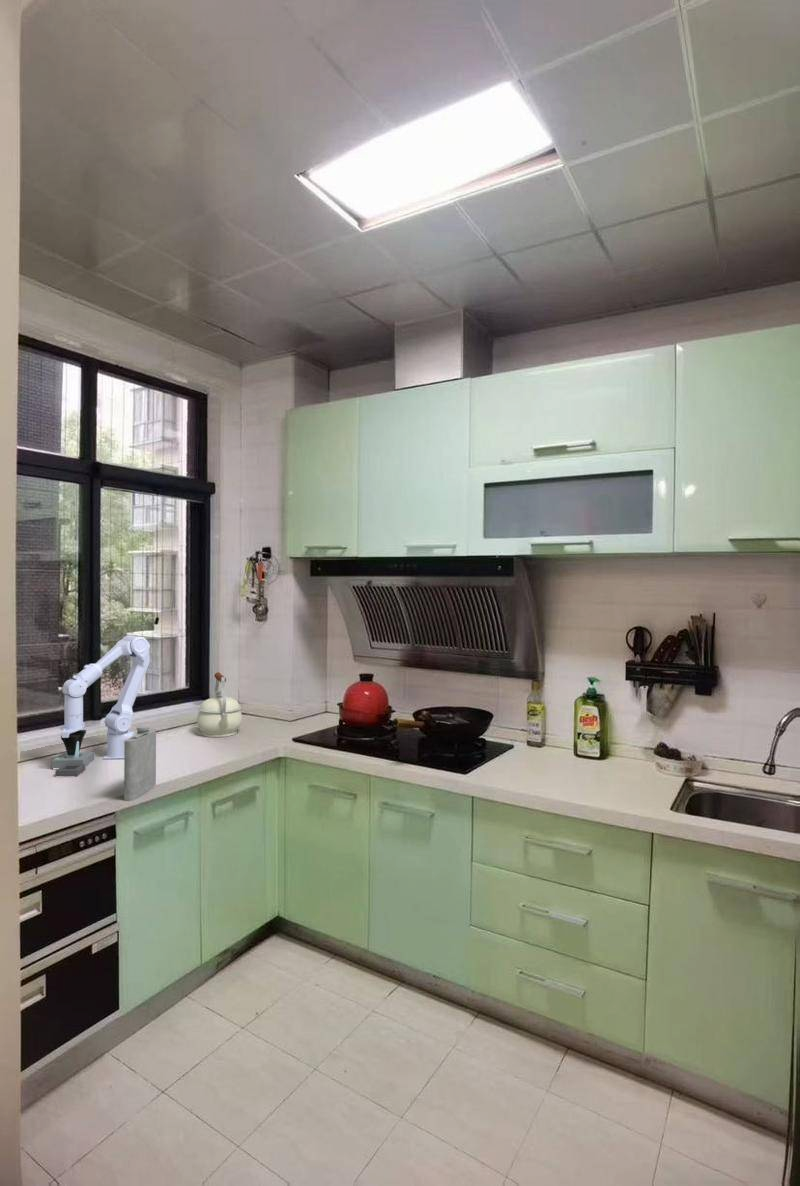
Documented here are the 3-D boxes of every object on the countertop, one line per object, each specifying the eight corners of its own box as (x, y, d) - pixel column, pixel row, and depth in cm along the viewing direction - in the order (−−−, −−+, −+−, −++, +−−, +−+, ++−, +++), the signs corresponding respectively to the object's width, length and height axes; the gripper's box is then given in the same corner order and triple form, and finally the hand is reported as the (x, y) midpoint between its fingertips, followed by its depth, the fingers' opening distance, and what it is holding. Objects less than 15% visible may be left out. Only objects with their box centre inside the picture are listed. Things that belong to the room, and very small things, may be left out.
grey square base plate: (85, 770, 210) (85, 764, 210) (77, 776, 203) (77, 770, 203) (64, 770, 209) (64, 764, 209) (55, 776, 203) (55, 770, 203)
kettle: (193, 729, 269) (194, 672, 268) (237, 726, 277) (237, 670, 276) (201, 743, 246) (202, 680, 246) (248, 739, 254) (249, 678, 253)
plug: (79, 763, 218) (78, 738, 217) (75, 766, 215) (75, 741, 214) (70, 764, 217) (69, 739, 217) (66, 766, 214) (66, 741, 214)
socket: (94, 760, 221) (94, 751, 221) (83, 768, 212) (83, 759, 211) (64, 760, 220) (64, 751, 220) (51, 769, 210) (51, 759, 210)
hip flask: (147, 783, 198) (148, 720, 197) (160, 783, 197) (160, 720, 197) (122, 800, 182) (122, 732, 181) (135, 801, 182) (135, 732, 181)
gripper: (70, 710, 222) (70, 748, 223) (52, 719, 208) (52, 759, 208) (91, 710, 223) (90, 747, 223) (74, 718, 209) (74, 759, 209)
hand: (73, 753), depth 216 cm, fingers open, 3 cm apart
